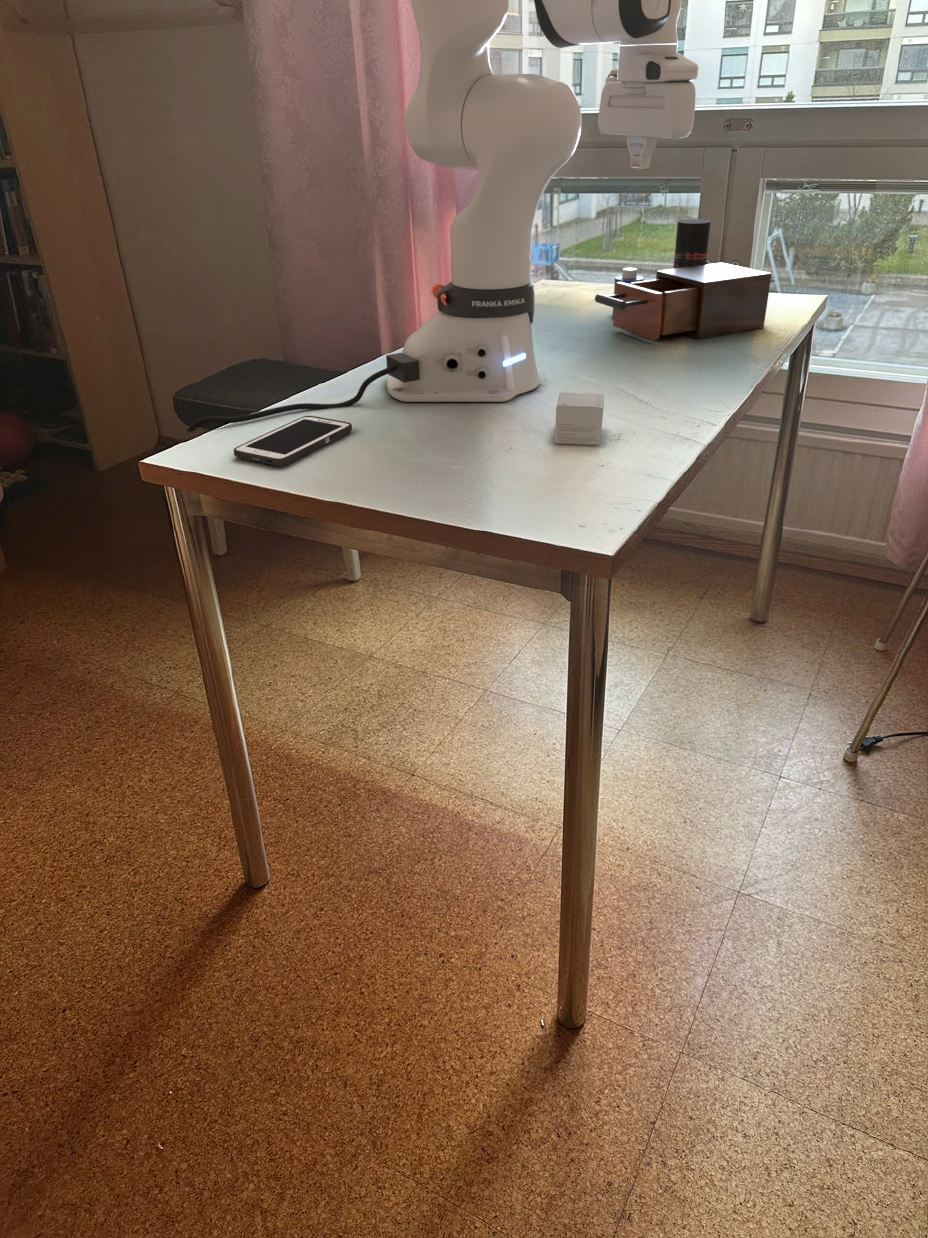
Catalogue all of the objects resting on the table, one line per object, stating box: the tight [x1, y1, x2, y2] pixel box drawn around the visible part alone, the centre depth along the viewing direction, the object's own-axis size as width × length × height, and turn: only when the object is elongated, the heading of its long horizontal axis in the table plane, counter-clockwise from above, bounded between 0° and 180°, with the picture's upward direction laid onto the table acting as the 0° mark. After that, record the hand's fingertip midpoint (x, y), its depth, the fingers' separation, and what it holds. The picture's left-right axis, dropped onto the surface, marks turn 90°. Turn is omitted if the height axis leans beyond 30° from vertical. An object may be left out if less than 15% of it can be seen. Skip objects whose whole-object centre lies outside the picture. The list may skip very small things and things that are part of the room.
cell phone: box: [233, 415, 353, 467], centre depth 113 cm, size 8×15×1 cm, turn 150°
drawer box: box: [655, 262, 772, 340], centre depth 159 cm, size 15×13×9 cm
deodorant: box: [672, 218, 712, 269], centre depth 172 cm, size 6×6×15 cm
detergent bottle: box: [612, 267, 645, 319], centre depth 166 cm, size 5×5×8 cm
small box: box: [554, 391, 605, 446], centre depth 112 cm, size 6×6×5 cm
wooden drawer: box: [594, 278, 701, 341], centre depth 154 cm, size 19×11×7 cm, turn 118°
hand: (639, 167), depth 147 cm, fingers closed
